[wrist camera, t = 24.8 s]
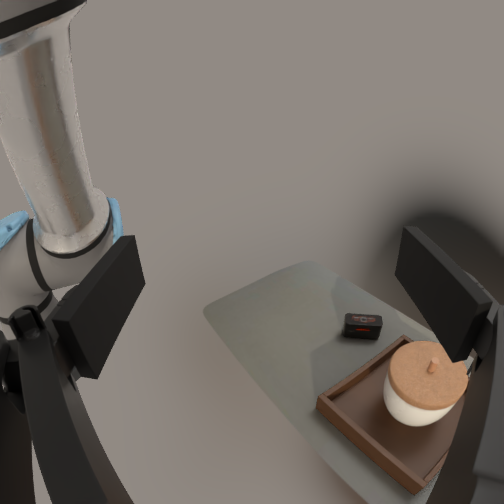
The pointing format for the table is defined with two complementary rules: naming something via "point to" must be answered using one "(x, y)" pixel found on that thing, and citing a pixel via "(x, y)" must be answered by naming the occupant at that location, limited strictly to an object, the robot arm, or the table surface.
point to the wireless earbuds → (362, 326)
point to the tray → (388, 424)
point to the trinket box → (423, 383)
